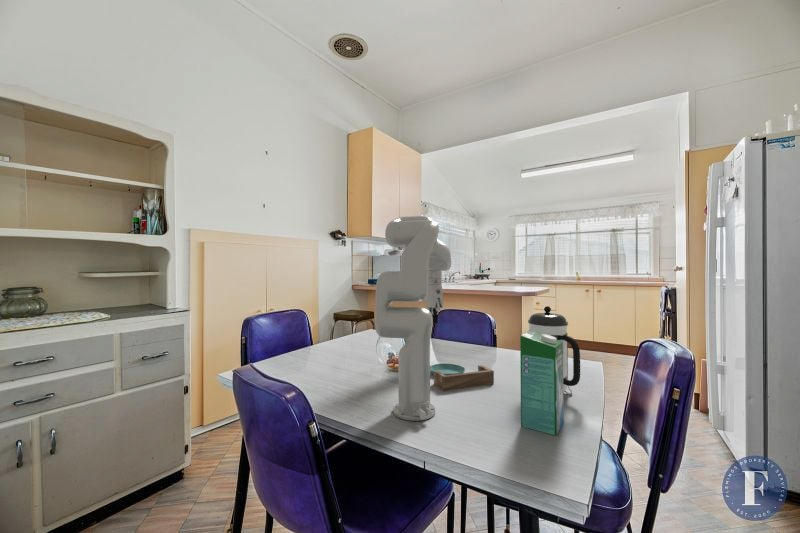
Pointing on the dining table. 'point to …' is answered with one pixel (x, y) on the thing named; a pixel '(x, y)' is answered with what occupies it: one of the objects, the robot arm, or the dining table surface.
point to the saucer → (447, 369)
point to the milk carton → (541, 382)
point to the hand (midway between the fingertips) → (433, 323)
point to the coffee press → (558, 329)
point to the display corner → (464, 379)
